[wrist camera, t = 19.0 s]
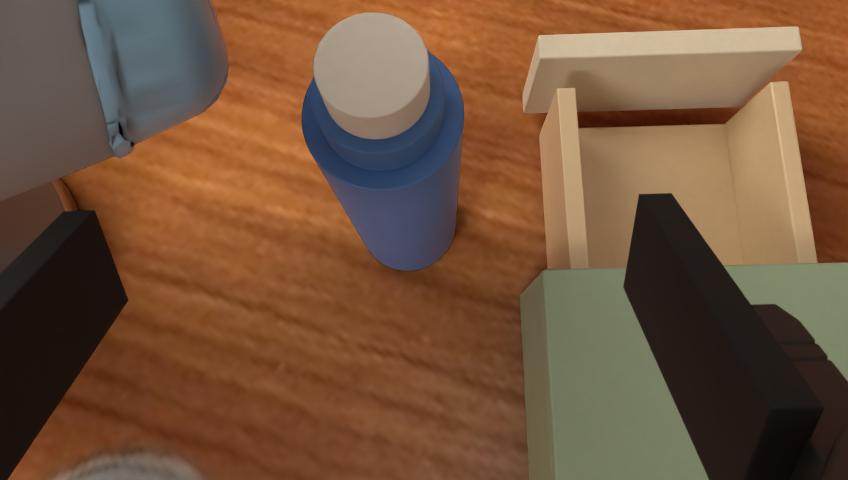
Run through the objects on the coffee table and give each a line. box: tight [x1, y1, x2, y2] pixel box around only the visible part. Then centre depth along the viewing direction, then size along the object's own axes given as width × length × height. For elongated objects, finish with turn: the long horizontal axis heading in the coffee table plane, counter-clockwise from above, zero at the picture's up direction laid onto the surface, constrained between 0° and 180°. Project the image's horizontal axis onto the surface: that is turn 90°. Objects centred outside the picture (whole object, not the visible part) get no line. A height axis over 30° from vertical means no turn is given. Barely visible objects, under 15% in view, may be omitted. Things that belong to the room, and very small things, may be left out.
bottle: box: [302, 12, 464, 271], centre depth 24 cm, size 5×5×17 cm
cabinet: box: [520, 262, 848, 480], centre depth 26 cm, size 14×13×8 cm
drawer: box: [522, 27, 818, 269], centre depth 29 cm, size 14×11×6 cm
